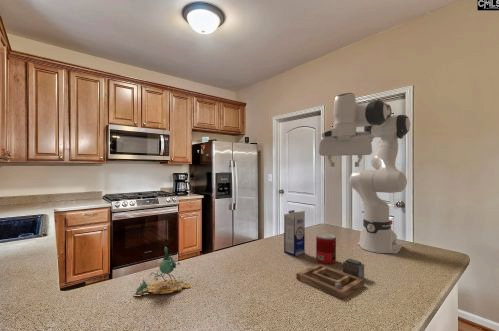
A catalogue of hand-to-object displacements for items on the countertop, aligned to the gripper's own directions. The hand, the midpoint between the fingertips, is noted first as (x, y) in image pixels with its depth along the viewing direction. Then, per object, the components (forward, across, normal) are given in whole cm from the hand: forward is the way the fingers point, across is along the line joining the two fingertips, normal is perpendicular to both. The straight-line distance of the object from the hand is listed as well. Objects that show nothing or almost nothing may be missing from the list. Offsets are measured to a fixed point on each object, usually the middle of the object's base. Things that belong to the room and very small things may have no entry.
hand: (344, 166), depth 100 cm
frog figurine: (+41, +46, +52) cm, 81 cm away
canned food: (+41, +8, -2) cm, 41 cm away
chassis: (+41, +1, +16) cm, 44 cm away
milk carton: (+41, +23, -4) cm, 47 cm away
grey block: (+41, -5, +8) cm, 42 cm away
